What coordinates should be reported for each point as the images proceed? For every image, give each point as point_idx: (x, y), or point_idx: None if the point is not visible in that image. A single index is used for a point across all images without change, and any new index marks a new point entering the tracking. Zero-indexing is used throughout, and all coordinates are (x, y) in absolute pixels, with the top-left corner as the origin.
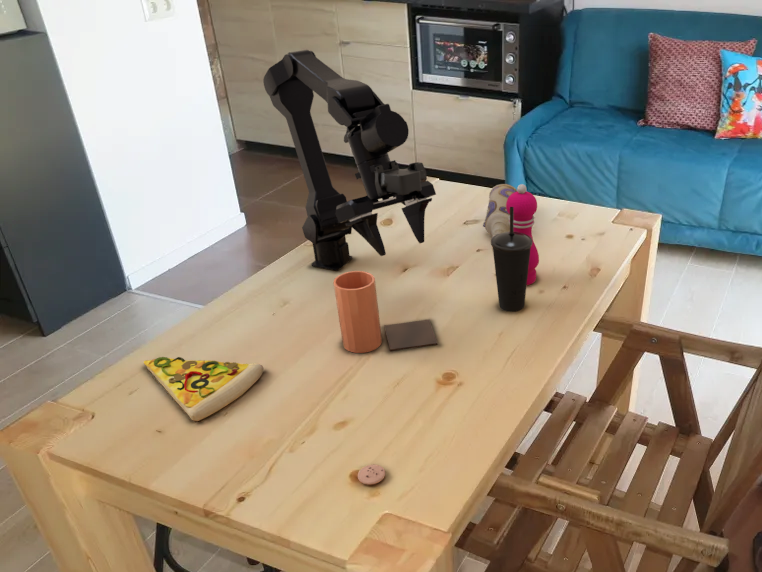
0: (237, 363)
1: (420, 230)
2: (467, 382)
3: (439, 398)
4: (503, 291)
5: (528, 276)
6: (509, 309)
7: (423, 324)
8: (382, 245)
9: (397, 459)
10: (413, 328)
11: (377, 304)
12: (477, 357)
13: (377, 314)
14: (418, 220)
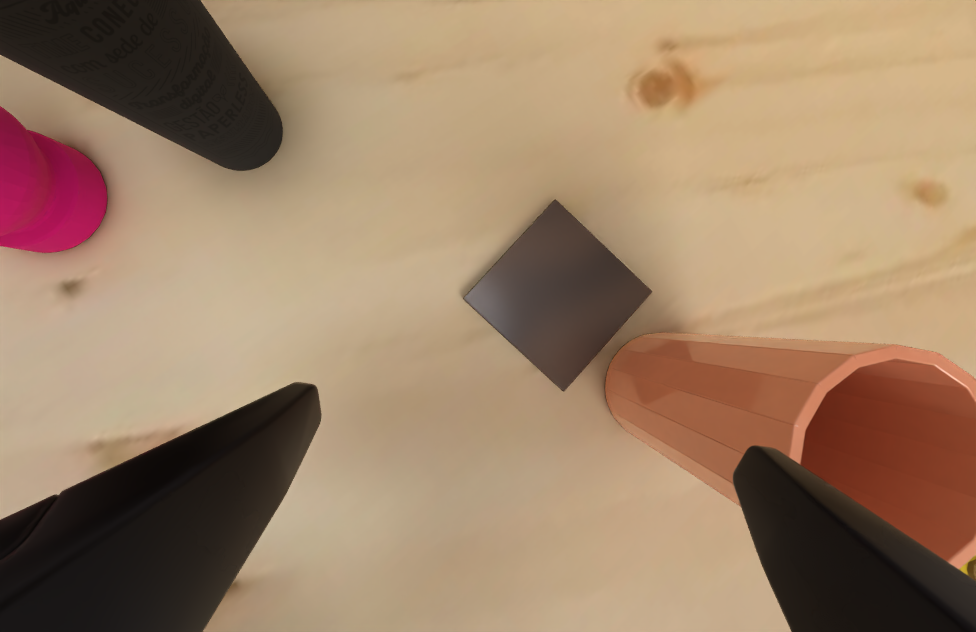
0: (962, 569)
1: (235, 449)
2: (651, 34)
3: (739, 58)
4: (244, 83)
5: (37, 137)
6: (275, 111)
7: (497, 294)
8: (841, 511)
9: (945, 16)
10: (531, 305)
11: (707, 356)
12: (545, 71)
13: (703, 341)
14: (82, 577)
